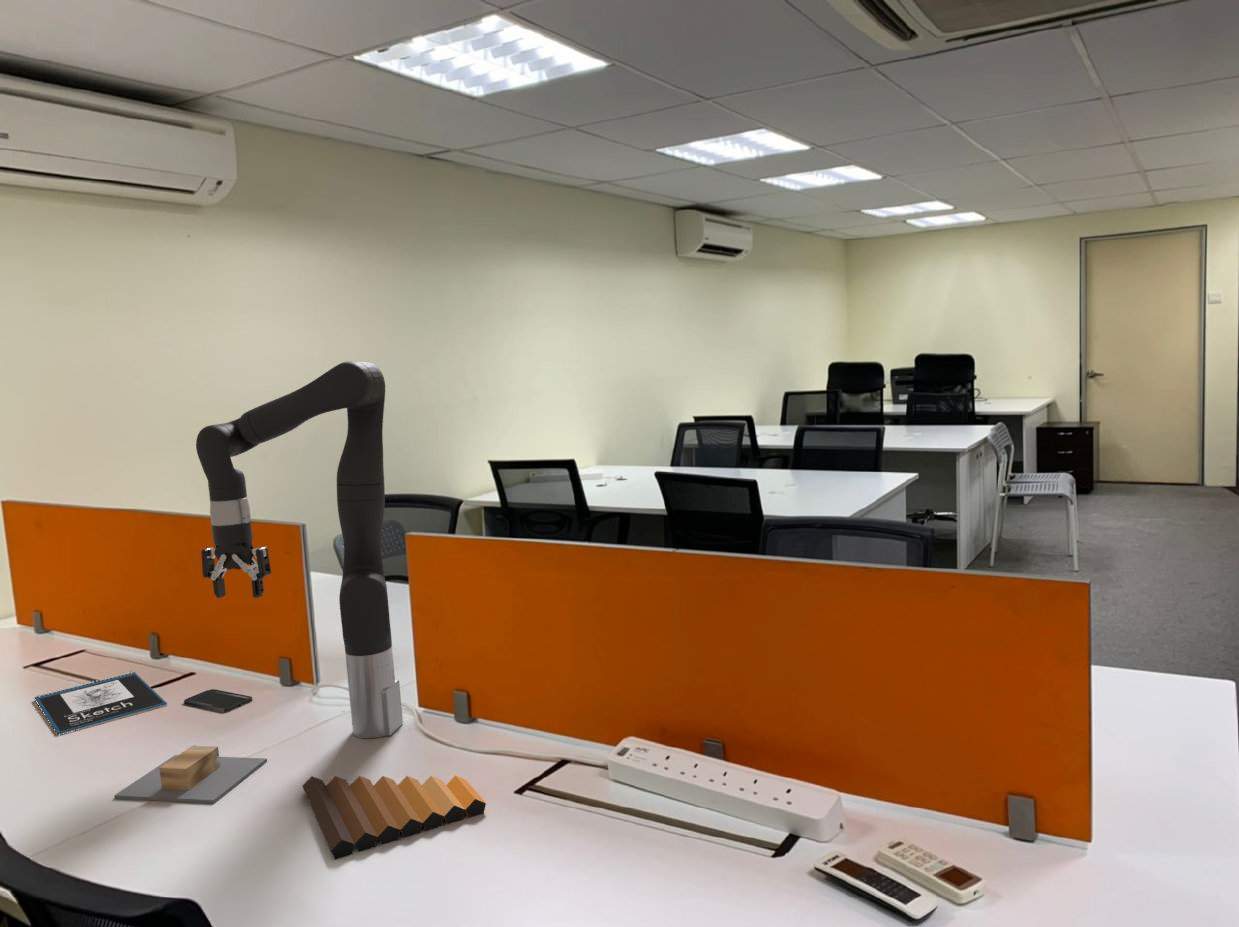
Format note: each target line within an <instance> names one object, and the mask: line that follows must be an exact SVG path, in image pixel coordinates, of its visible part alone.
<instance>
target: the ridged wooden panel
mask: <svg viewBox="0 0 1239 927" xmlns="http://www.w3.org/2000/svg"><path fill="white" fill-rule="evenodd" d="M301 787H302V788H303V791H304V794H305V795H306V796H305V797H306V798H307V801H308V803H309V805H310V808H311V809H312V811H313V814H314V816H315V819H316V821H317V823H318V826H319V828H320V830H321V832H322V835H323V837H324V840H325V842H326V843H327V844H326V845H327V846H328V848H329V851H330V852H331V855H332V856H333V858H334V860H339V859H343V858H346V857H348V856H352V855H353V852H354V848H356V849H357V852H358V853H362V852H364V851H368V850H371V849H374V848H376V847H377V843H378V841H379V842H380V844H381V846H384V845H388V844H390V843H393V842H396V841H399V839H400V834H402V836H403V838H404V839H406V838H409V837H412V836H416V835H419V834H421V833H422V828H424V830H425V831H426V832H428V831H431V830H434V829H437V828H441V827H443V823H444V821H445V822H446V824H447V825H450V824H455V823H456V822H461V821H464V818H465V814H466V816H467V817H468V818H472V817H476V816H480V815H482V814H485V809H486V805H487V802H486V801H485V800H484V799H483V798H482V796H480V794H479V793H478V792H477V791H476V790H475V789H474V787H473V786H472V785H471V784H470V783H469V781H468V780H467V779H465V778H462V777H460V776H458V775H454V776H453V777H452V779H450V780H449V782H447V783H446V784H445V782H444V781H443V779H441V778H438V777H435V776H434V775H430V776H429V777H428V778H427V779H426V780H425V781H424V782H423V783H422V784H421V783H420V781H419V780H418V779H416V778H414V777H411V776H409V775H406V776H405V777H404V778H403V779H402V780H401V781H400V782H399V783H398V784H397V783H396V781H395V779H392V778H390V777H387V776H384V775H382V776H381V777H380V778H379V779H378V780H377V781H376V782H375V784H373V783H372V781H371V779H368V778H365V777H363V776H360V775H358V777H356V778H355V779H354V780H353V781H352V783H351V784H349V782H348V780H347V779H345V778H341V777H340V776H337V775H334V777H333V778H332V779H331V780H330V781H329V782H328V783H326V784H325V782H324V780H323V779H320V778H318V777H316V776H312V775H311V776H310V777H309V778H308V779H307V780H306V781H305V782H304V783H303V784H302V786H301Z"/></svg>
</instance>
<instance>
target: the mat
mask: <svg viewBox="0 0 1239 927" xmlns="http://www.w3.org/2000/svg"><path fill="white" fill-rule="evenodd" d="M178 755H179V754H174V755H173V756H171V757H170V758H168V759H167V760H165V761H164V762H162V763H161V764H159V765H158V766H156V767H155V768H153V769H152V770H150V771H149V772H147V773H146V774H145V775H143V776H141V777H140V778H138V779H137V780H135V781H134V782H132V783H131V784H129V785H127V786H126V787H125V788H123V789H121V790H120V791H119V792H117V793H116V794H114V796H113V798H114V799H115V800H116V799H118V800H134V801H135V800H138V801H154V802H155V801H156V802H175V803H176V802H178V803H180V802H181V803H193V804H194V803H197V804H215V803H217V802H218V801H220V799H222V798H223V797H224V796H225V795H226V794H228V793H229V792H230V791H232V790H233V789H235V788H236V787H237V786H239V784H241V783H242V782H243V781H245V780H246V779H247V778H248V777H250V776H251V775H252V774H253V773H254V772H256V771H257V770H259V768H260V767H262V766H263V765H264V764H266V763H267V762H268V759H267V758H262V757H240V756H239V757H235V756H219V758H220V768H218V769H217V770H215V771H214V772H213V773H211V774H210V775H209V776H207V777H206V778H205V779H203V780H202V781H201V782H199V783H198V784H197V785H195V786H194V787H192V788H191V789H190V790H176V789H162V785H161V777H160V769H159V768H160V767H161V766H163V765H164V764H166V763H167V762H169V761H170V760H172V759H173V758H175V757H176V756H178Z"/></svg>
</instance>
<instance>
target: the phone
mask: <svg viewBox="0 0 1239 927" xmlns="http://www.w3.org/2000/svg"><path fill="white" fill-rule="evenodd" d="M253 700H254V699H253V697H252V696H249V695H245V694H241V693H240V694H239V693H234V692H230V691H224V690H221V689H215V688H211V689H207V690H205V691H202V692H199V693H197V694H195V695H192V696H190V697H188V698H185V699H183V704H184V705H186V706H191V707H193V708H194V707H195V708H200V709H204V710H209V711H214V712H217V713H230V712H231V711H234V710H236V709H238V708H240V707H243V706H245V705H248V704H250V703H252V702H253Z"/></svg>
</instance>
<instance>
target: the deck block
mask: <svg viewBox="0 0 1239 927" xmlns="http://www.w3.org/2000/svg"><path fill="white" fill-rule="evenodd" d="M177 755H178V756H176V757H175V758H173V759H172V760H170V761H169V762H167V763H166V764H164V765H163V766H161V767H160V768H159V769H160V777H161V785H162V789H176V790H190V789H191V788H192V787H194V786H195V785H197V784H198V783H199V782H201V781H202V780H203V779H205V778H206V777H207V776H209V775H210V774H211V773H213V772H214V771H215V770H217V769H218V768H220V758H219V757H220V752H219V746H217V745H216V746H214V745H213V746H211V745H191V746H190V747H188V748H186V749H185V750H184V751H182V752H181V753H179V754H177Z"/></svg>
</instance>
